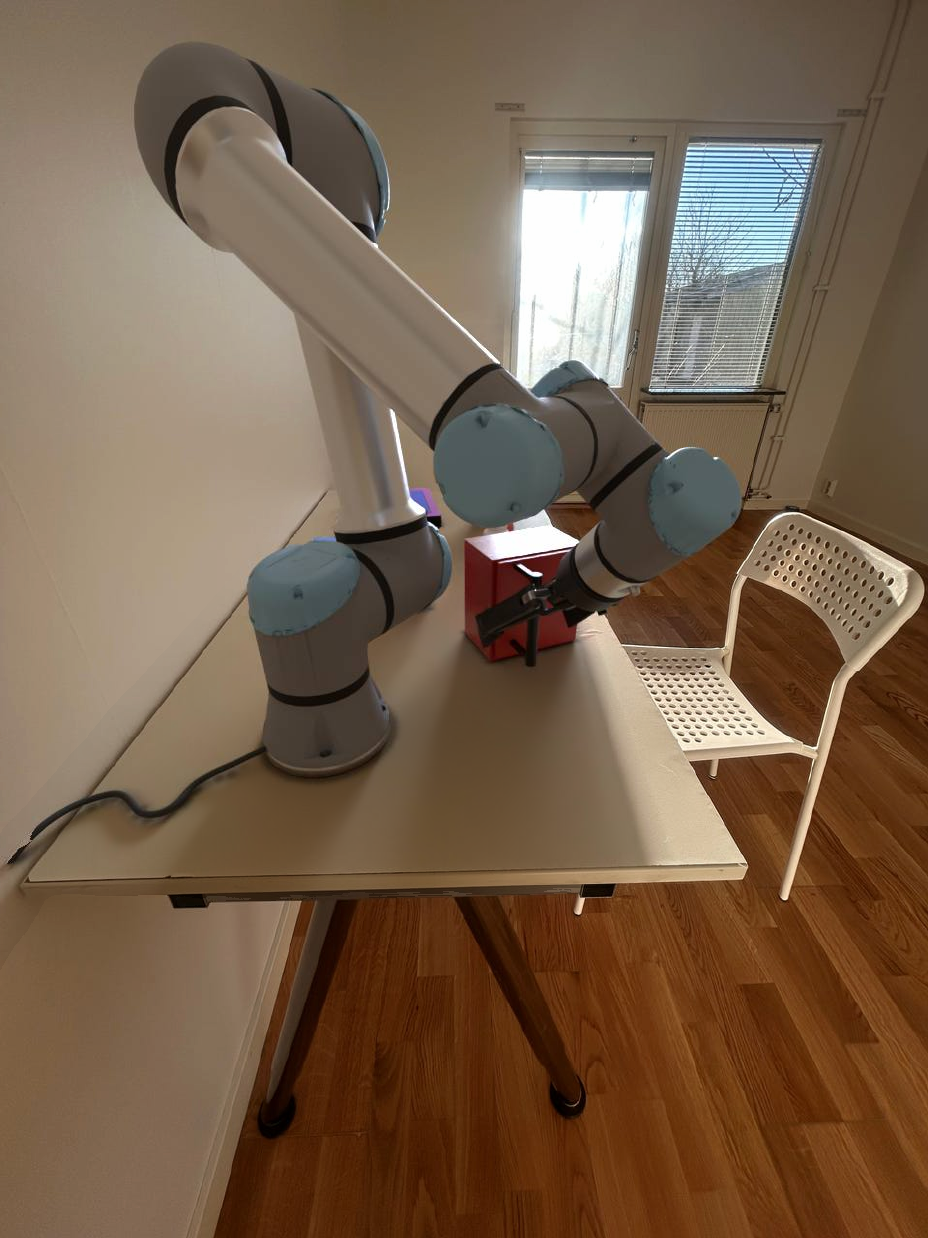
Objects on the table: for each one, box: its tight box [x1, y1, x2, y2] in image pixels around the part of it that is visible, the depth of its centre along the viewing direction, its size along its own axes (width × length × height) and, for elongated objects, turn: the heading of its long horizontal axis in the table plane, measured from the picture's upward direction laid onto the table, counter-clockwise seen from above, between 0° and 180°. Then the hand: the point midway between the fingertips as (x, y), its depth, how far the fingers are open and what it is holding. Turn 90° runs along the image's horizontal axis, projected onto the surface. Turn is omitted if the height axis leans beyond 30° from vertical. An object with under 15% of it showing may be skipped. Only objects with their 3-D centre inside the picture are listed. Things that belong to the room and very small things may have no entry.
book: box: [409, 487, 442, 528], centre depth 147 cm, size 21×3×30 cm
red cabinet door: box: [495, 549, 578, 668], centre depth 74 cm, size 7×14×16 cm, turn 113°
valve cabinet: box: [463, 525, 580, 662], centre depth 81 cm, size 10×15×17 cm, turn 113°
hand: (526, 628), depth 72 cm, fingers open, 13 cm apart
